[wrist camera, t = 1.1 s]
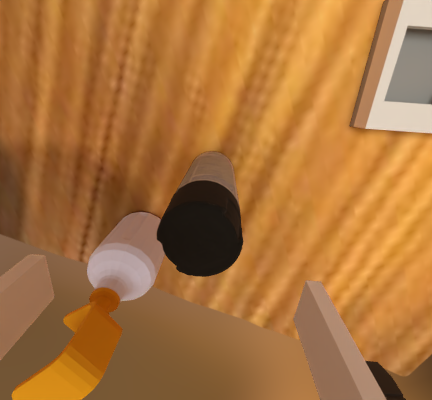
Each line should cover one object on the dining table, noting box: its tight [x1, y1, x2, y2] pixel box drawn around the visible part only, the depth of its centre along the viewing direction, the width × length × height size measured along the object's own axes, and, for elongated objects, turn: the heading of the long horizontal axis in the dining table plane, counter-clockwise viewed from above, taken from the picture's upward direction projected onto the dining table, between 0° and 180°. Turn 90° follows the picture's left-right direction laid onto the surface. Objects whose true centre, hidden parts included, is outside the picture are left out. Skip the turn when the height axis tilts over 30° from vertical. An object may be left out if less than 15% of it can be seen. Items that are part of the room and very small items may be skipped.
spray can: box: [157, 151, 243, 277], centre depth 26 cm, size 7×7×20 cm
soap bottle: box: [12, 212, 165, 400], centre depth 29 cm, size 9×9×25 cm
